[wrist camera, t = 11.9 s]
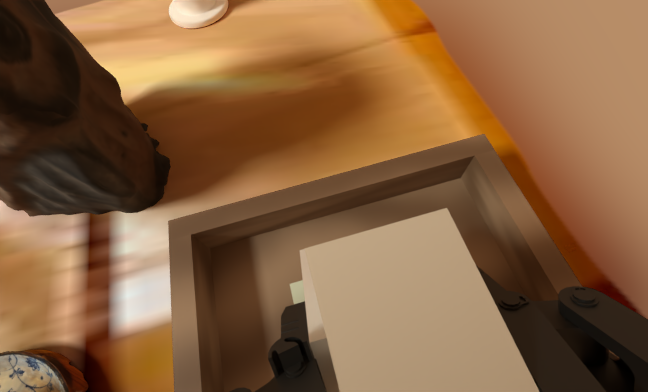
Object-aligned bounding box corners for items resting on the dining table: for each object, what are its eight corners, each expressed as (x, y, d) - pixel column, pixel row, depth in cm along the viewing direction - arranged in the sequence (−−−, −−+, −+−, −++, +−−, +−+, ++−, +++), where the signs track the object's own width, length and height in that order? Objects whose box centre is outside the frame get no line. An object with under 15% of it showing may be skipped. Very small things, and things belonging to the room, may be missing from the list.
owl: (101, 103, 32) (-221, -213, 14) (212, 120, 29) (-2, -232, 12) (22, 214, 26) (-659, -65, 9) (149, 245, 24) (-420, -48, 6)
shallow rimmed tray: (617, 434, 17) (693, 458, 13) (222, 563, 16) (182, 629, 12) (464, 166, 25) (484, 133, 21) (197, 241, 24) (168, 220, 20)
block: (432, 372, 17) (544, 401, 7) (354, 395, 17) (356, 461, 7) (398, 281, 19) (446, 208, 9) (329, 301, 19) (304, 248, 9)
